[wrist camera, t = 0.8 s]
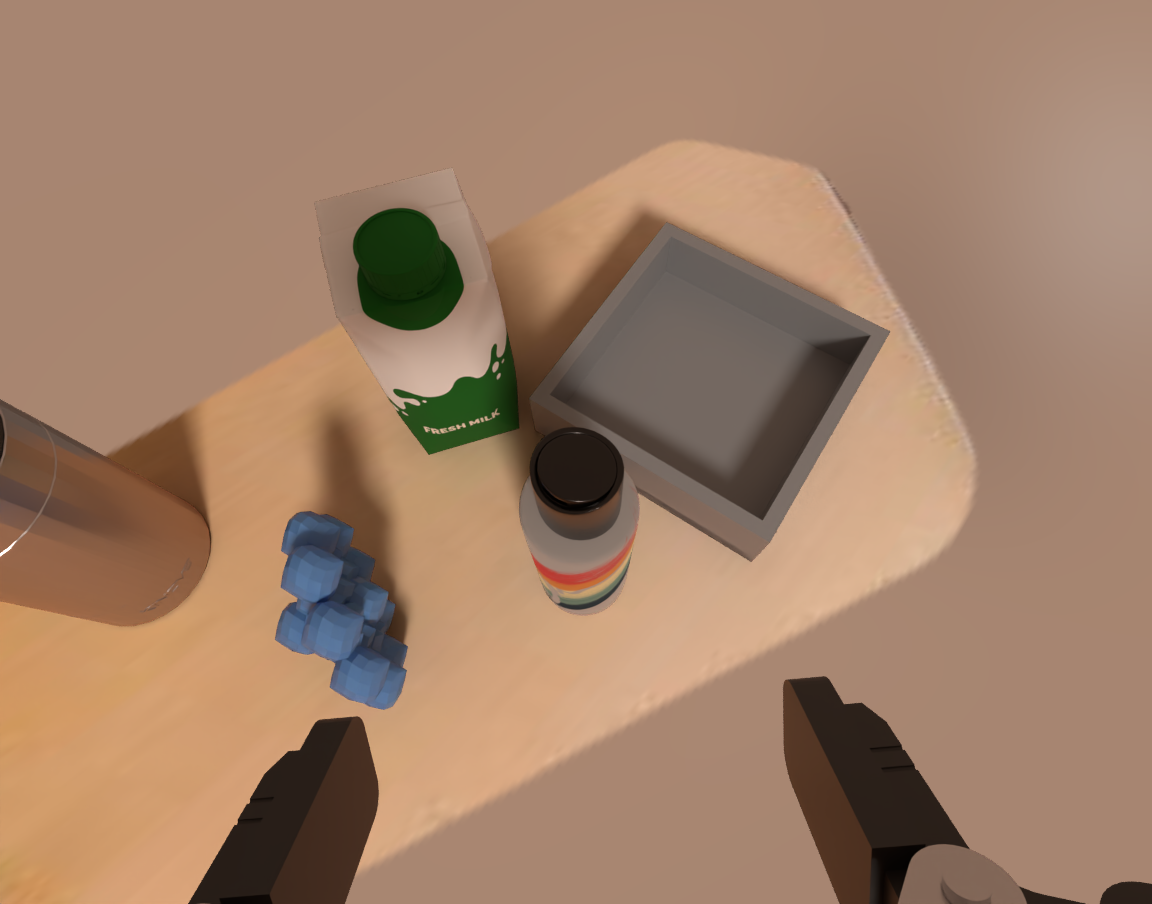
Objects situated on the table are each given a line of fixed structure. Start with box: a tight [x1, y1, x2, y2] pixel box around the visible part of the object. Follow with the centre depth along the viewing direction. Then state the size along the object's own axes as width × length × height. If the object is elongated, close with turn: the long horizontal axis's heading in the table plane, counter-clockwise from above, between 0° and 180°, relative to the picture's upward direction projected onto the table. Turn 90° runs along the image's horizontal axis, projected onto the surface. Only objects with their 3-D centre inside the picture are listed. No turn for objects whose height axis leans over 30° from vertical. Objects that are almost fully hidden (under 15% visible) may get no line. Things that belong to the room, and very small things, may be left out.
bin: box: [529, 222, 890, 562], centre depth 47 cm, size 18×18×5 cm
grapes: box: [275, 511, 408, 710], centre depth 37 cm, size 12×7×12 cm, turn 24°
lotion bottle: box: [519, 427, 640, 615], centre depth 35 cm, size 6×6×20 cm
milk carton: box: [315, 168, 519, 455], centre depth 40 cm, size 9×9×20 cm
